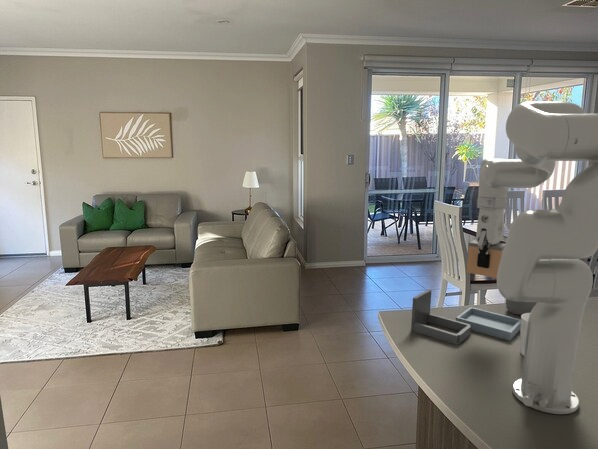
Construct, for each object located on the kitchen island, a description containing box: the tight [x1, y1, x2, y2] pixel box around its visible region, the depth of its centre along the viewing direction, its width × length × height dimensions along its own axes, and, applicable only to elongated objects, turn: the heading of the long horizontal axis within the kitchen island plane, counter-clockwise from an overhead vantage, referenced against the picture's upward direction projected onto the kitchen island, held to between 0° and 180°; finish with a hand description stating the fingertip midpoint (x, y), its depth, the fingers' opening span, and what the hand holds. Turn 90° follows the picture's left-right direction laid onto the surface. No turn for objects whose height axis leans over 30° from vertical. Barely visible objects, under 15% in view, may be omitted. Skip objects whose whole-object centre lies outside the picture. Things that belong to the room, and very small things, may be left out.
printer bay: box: [410, 289, 472, 345], centre depth 128 cm, size 10×14×10 cm
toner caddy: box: [466, 239, 505, 279], centre depth 128 cm, size 5×9×9 cm, turn 50°
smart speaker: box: [505, 298, 537, 317], centre depth 142 cm, size 10×9×14 cm
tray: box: [455, 306, 521, 341], centre depth 132 cm, size 12×16×2 cm
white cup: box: [519, 313, 530, 357], centre depth 114 cm, size 8×8×10 cm
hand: (486, 264), depth 128 cm, fingers closed on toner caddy, 5 cm apart
